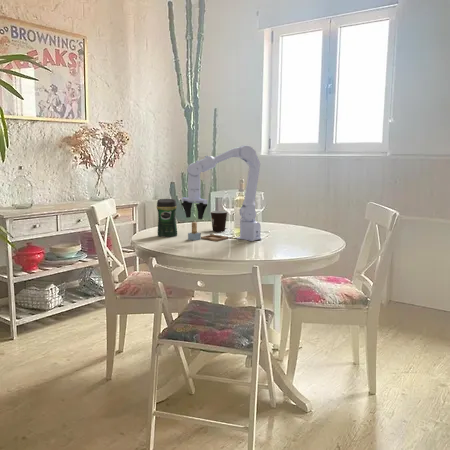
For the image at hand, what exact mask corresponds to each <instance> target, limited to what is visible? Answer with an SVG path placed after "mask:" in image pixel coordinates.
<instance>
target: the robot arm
mask: <svg viewBox="0 0 450 450" xmlns="http://www.w3.org/2000/svg"><path fill="white" fill-rule="evenodd" d="M231 158H240V159H241V160H242V161H244V162H245V163H246V165H247V166H248V173H247V180H246V186H245V192H244V199H243V201H242V206H241V208H240V209H239V215H240V219H239V236H238V237H237V240H238V239H239V240H245V241H248V242H253V241H258V240H262V237H261V232H262V231H261V224H260V222H258V221H256V217H257V212H256V195H257V189H258V182H259V175H260V168H261V163H260V160H259V158H258V155H257V151H256V149H254V147H252V146H250V145H248V144H247V145H241V146H238V147H233V148H230V149H228V150H226V151H224V152H222V153H220V154H218V155H216V156H212V155H209V156H208V155H205V156H204V157H203V158H202V159H200V160H199V159H197V160H195V162H192V163H189V165H188V166H187V169H186V171H187V173H188V174H187V177H188V179H187V197H181V204H180V205H181V206H182V207H183V210H184V213H185V217H186V218H187V219H189V218H191V215H192V212H191V211H192V205H193V204H195V206H196V209H197V219H198V220H202V219H203V217H204V213H205V211H206V209H207V207H208V199H206V198H201V173H205V172H207V171H209V170H211V169H214V168H216V166H217V164H218V163H221V162H224V161H226V160H229V159H231Z"/></svg>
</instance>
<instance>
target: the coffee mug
mask: <svg viewBox="0 0 450 450" xmlns="http://www.w3.org/2000/svg"><path fill="white" fill-rule="evenodd" d="M227 215H228V211H226V210H225V211H224V210H213V211H210V218H211V228H212V232H215V233H216V232H217V233H222V232H221V231H224V232H225V231H226V225H227V217H228V216H227Z"/></svg>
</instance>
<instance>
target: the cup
mask: <svg viewBox="0 0 450 450" xmlns="http://www.w3.org/2000/svg"><path fill="white" fill-rule="evenodd" d="M201 235H202V234H201V232H199V231H197V233H196V234H193V233H192V231H191V232H188V233H187V240H189V241H200V240H202V239H201V237H202V236H201Z"/></svg>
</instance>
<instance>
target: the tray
mask: <svg viewBox="0 0 450 450" xmlns="http://www.w3.org/2000/svg"><path fill="white" fill-rule="evenodd" d="M228 239H229V236H223V235H217V234H209V235H204V236H201V239H200V240H206V241H211V242H221V241H225V240H228Z"/></svg>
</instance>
